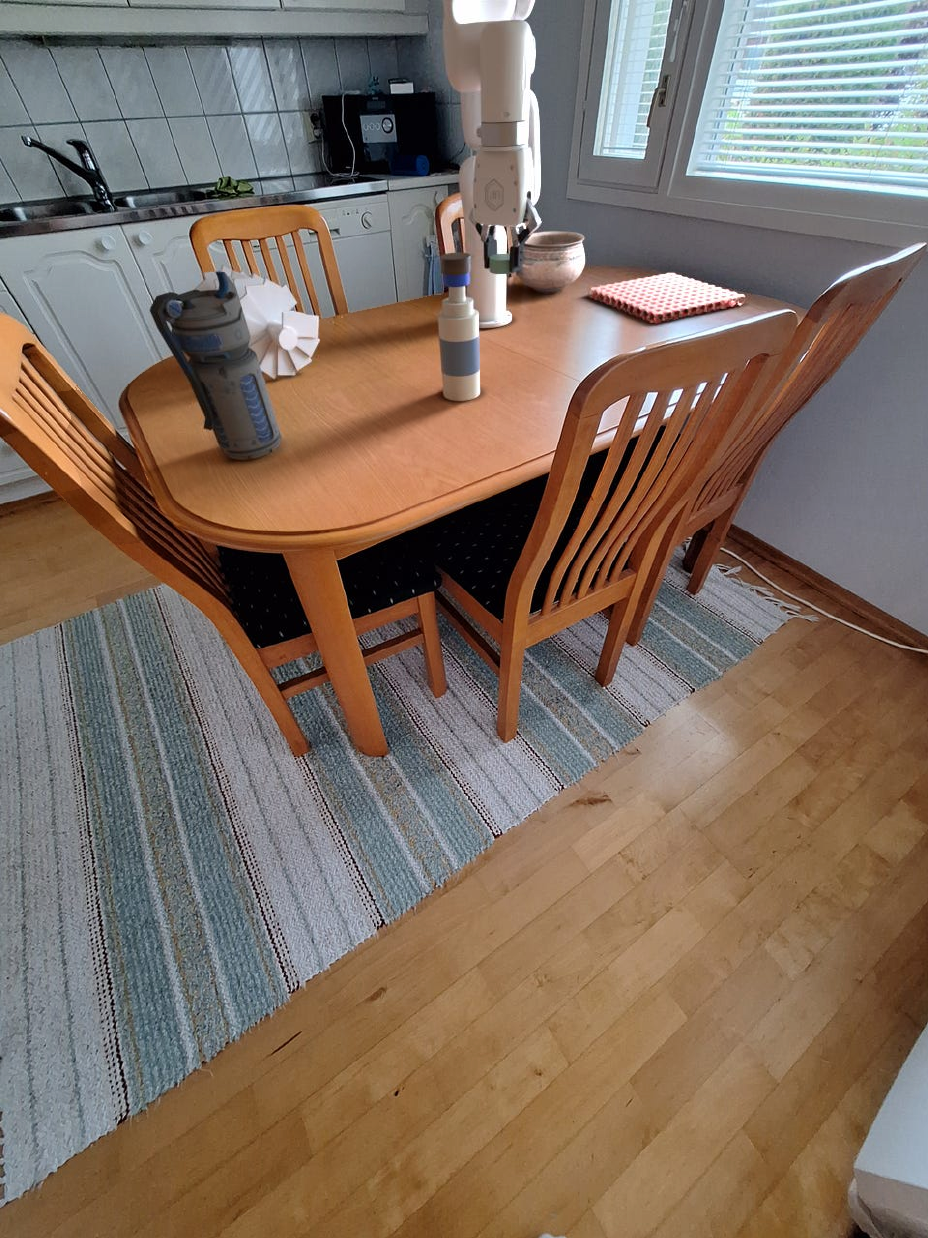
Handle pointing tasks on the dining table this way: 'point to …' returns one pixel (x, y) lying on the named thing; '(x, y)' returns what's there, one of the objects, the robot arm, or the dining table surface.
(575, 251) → the cooking pot
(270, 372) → the spiral staircase
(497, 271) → the sage cylinder
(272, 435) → the beverage bottle
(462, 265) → the brown disc
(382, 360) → the dining table surface
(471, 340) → the cream bottle
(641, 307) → the pink perforated square mat
